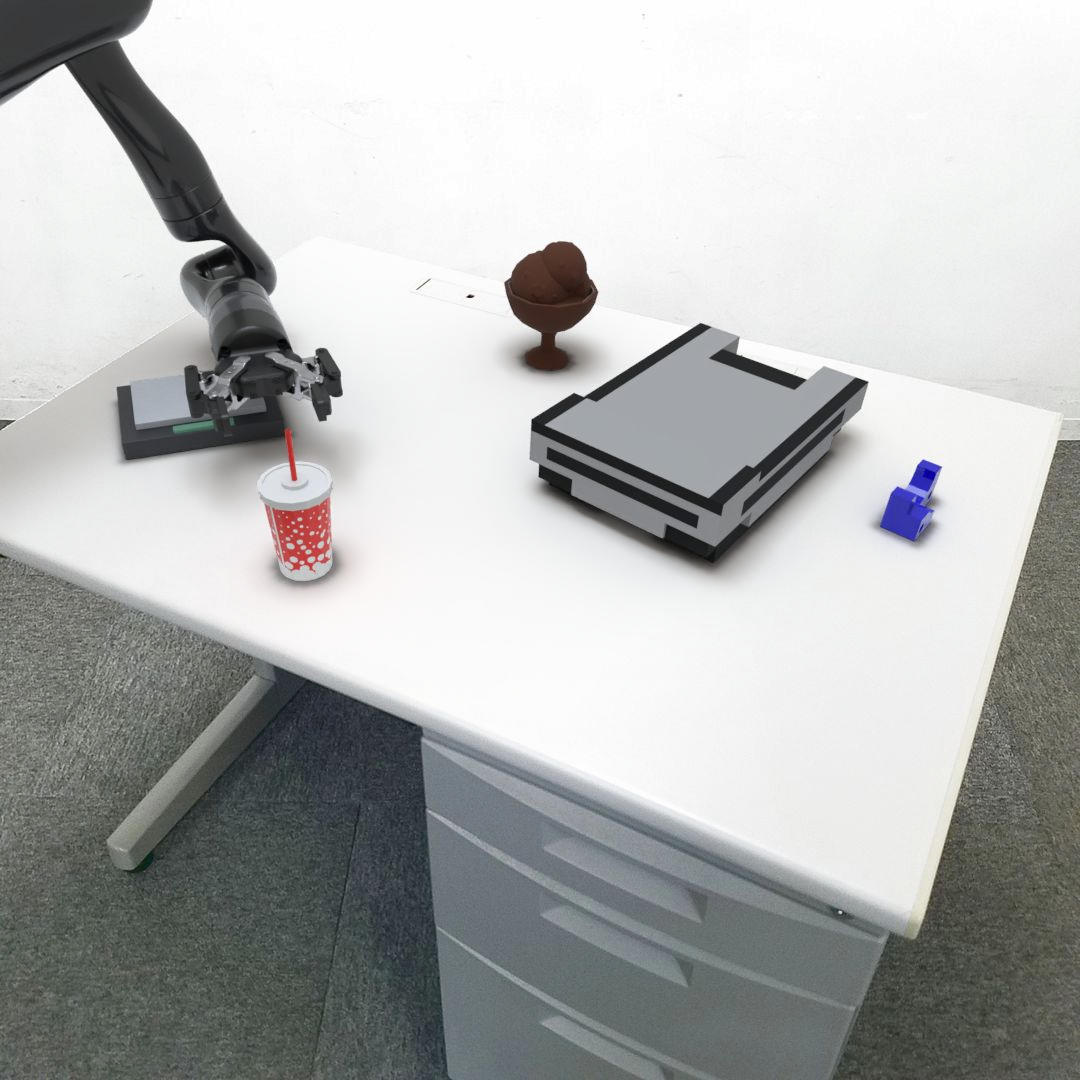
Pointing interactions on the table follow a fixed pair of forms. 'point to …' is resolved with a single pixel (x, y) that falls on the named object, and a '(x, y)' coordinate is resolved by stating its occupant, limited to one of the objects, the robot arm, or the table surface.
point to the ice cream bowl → (551, 298)
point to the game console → (693, 439)
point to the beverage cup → (299, 515)
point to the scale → (185, 419)
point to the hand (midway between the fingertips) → (275, 420)
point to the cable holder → (912, 503)
